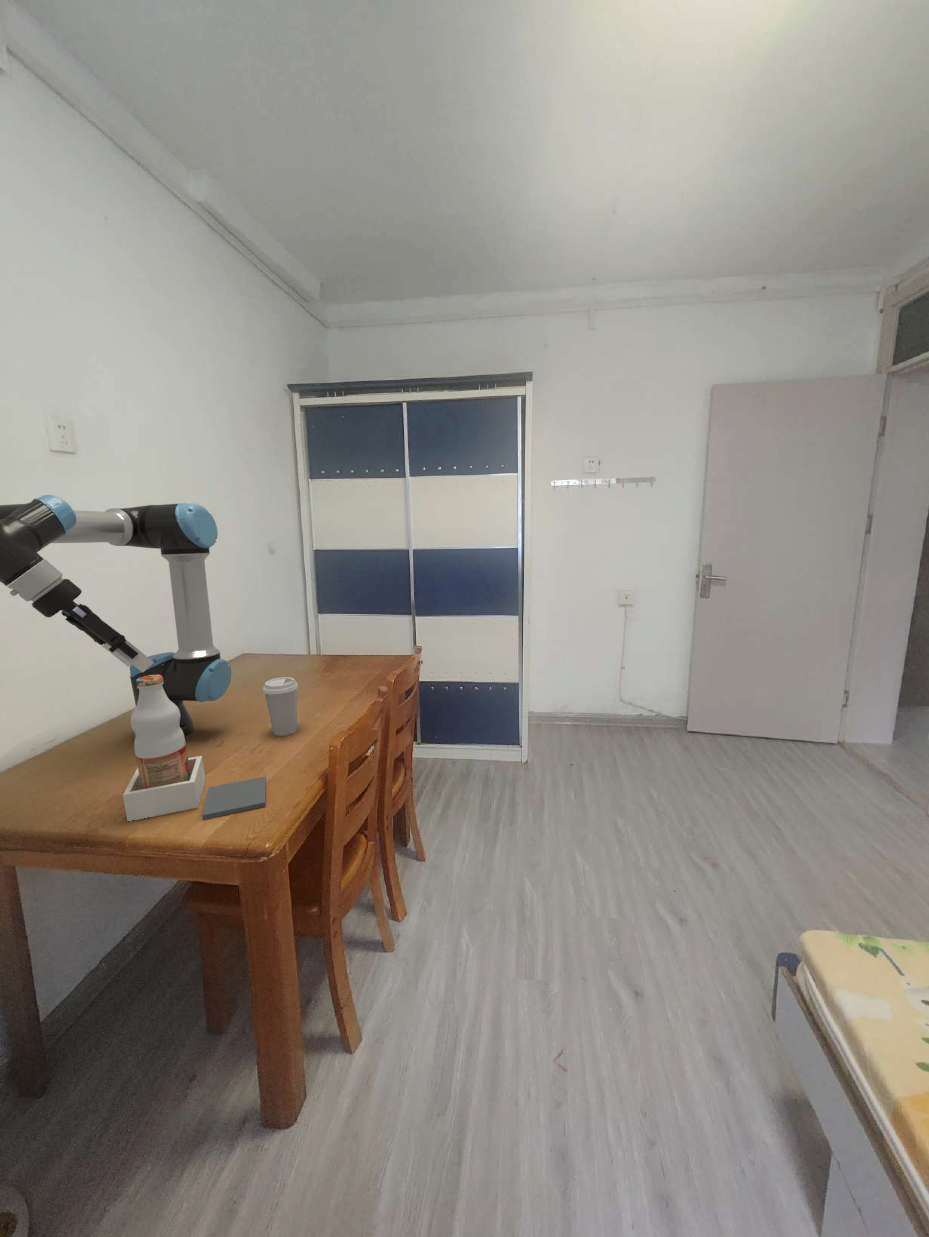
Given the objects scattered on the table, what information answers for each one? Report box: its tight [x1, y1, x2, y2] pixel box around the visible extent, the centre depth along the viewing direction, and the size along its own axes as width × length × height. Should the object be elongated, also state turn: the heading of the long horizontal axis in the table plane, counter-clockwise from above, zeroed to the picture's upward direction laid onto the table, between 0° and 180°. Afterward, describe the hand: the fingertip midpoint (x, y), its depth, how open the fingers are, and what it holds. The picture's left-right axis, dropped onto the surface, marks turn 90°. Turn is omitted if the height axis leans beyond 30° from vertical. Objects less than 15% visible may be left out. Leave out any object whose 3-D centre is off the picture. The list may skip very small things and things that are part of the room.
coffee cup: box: [262, 676, 299, 737], centre depth 146 cm, size 10×10×15 cm
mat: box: [201, 775, 267, 821], centre depth 112 cm, size 12×12×1 cm
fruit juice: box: [130, 675, 191, 789], centre depth 110 cm, size 9×9×28 cm
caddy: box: [122, 755, 206, 822], centre depth 113 cm, size 13×13×6 cm
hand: (140, 664), depth 107 cm, fingers open, 13 cm apart
